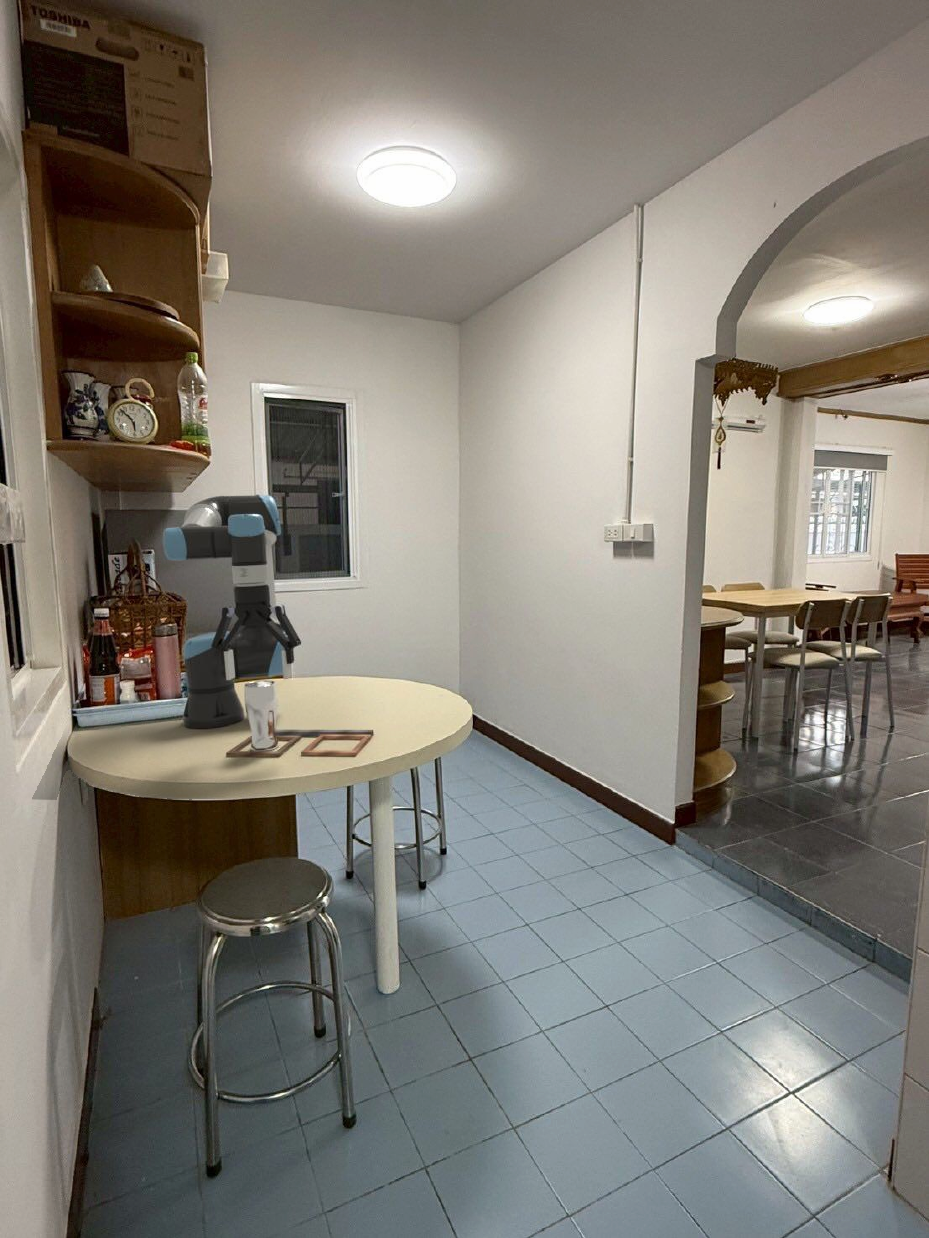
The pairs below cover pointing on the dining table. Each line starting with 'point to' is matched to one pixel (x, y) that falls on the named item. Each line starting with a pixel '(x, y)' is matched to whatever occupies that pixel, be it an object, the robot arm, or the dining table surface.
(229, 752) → the double square frame
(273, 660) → the robot arm
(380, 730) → the dining table surface
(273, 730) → the beer glass
